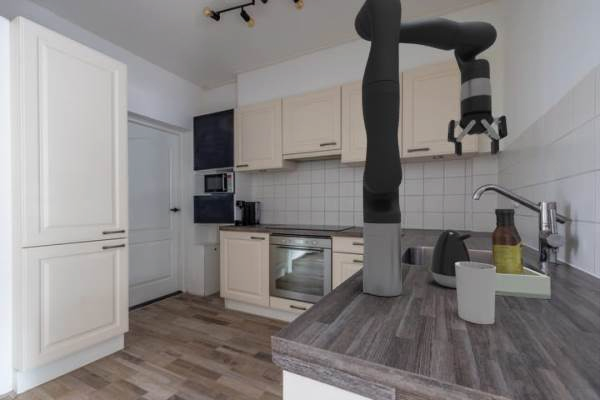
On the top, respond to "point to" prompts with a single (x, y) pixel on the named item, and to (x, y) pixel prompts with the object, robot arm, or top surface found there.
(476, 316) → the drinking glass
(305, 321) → the top surface
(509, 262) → the sauce bottle
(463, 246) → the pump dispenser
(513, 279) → the bin
